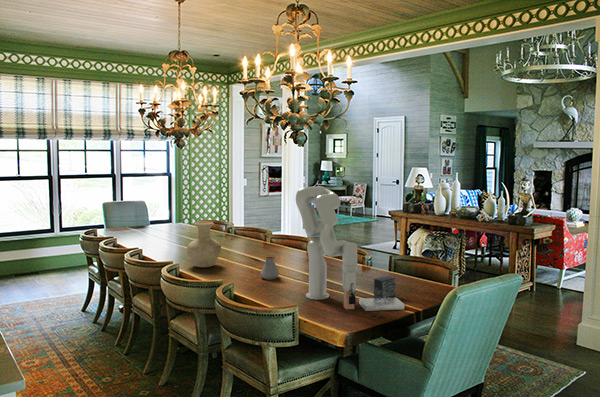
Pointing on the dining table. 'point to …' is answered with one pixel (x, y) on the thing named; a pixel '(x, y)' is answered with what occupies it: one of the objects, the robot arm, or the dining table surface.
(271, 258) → the coffee pot
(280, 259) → the dining table surface
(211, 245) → the vase
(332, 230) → the robot arm
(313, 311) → the dining table surface
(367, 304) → the white rectangular slab
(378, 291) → the small box
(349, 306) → the square peg
